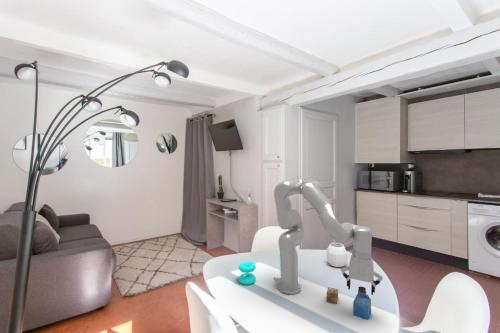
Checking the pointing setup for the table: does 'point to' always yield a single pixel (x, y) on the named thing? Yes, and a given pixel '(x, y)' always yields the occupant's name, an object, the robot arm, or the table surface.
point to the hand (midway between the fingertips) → (360, 290)
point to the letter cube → (332, 295)
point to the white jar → (336, 255)
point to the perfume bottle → (362, 304)
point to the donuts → (247, 273)
